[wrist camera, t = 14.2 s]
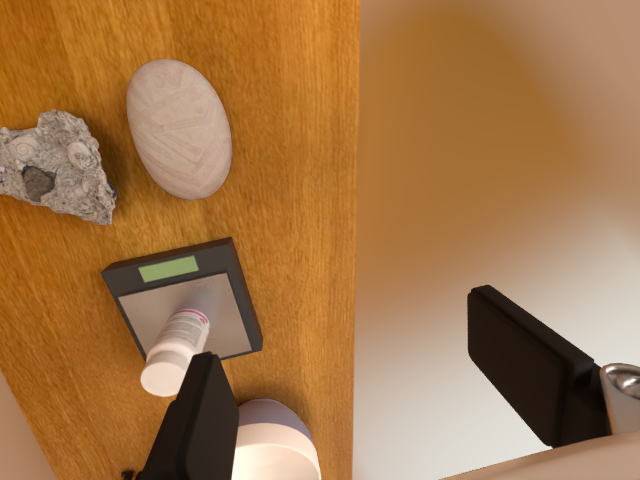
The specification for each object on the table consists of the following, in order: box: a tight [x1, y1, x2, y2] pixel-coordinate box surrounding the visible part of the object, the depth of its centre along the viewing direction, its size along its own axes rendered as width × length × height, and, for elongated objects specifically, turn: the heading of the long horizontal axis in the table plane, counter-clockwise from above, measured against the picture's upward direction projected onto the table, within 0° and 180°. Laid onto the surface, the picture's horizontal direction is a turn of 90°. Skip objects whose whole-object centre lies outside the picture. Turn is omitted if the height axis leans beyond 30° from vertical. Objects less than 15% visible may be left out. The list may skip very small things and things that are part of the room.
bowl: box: [231, 398, 321, 480], centre depth 41 cm, size 16×16×10 cm
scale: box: [101, 237, 263, 363], centre depth 37 cm, size 15×14×3 cm
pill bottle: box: [140, 309, 210, 396], centre depth 31 cm, size 5×5×8 cm
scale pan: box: [118, 270, 252, 358], centre depth 36 cm, size 11×12×1 cm
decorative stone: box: [126, 59, 232, 200], centre depth 29 cm, size 13×9×5 cm
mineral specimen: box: [0, 109, 118, 226], centre depth 28 cm, size 6×11×12 cm
